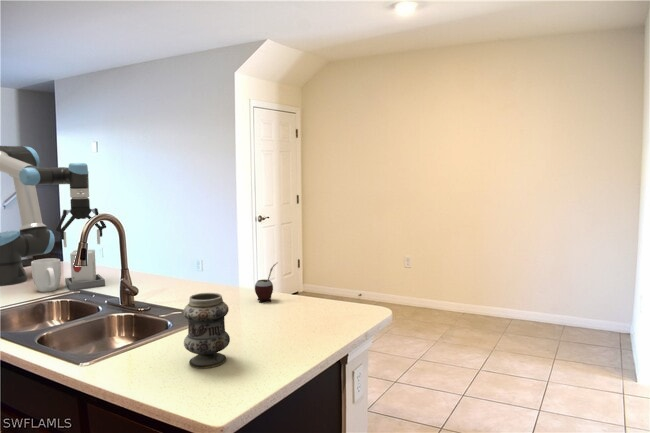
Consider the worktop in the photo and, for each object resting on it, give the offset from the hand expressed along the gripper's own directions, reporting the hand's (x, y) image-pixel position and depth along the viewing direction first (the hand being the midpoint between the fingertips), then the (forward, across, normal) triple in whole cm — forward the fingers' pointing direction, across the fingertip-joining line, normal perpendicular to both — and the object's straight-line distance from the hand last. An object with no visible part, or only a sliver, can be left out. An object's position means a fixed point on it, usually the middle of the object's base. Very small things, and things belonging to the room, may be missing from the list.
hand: (82, 245), depth 217 cm
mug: (+18, -14, -1) cm, 23 cm away
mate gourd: (+17, +53, -73) cm, 92 cm away
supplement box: (+18, 0, 0) cm, 18 cm away
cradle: (+18, 0, -1) cm, 18 cm away
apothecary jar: (+16, +12, -117) cm, 118 cm away
